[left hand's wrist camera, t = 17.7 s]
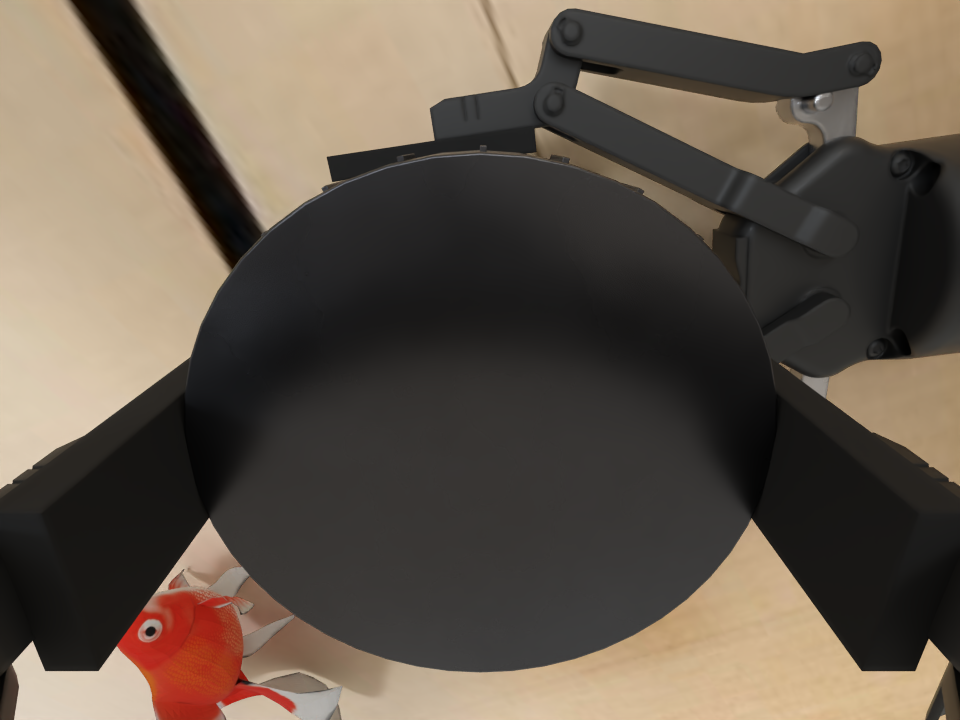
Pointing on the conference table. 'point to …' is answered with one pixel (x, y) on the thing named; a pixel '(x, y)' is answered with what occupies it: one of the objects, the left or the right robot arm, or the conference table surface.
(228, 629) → the fish
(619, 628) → the lid
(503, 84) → the conference table surface
